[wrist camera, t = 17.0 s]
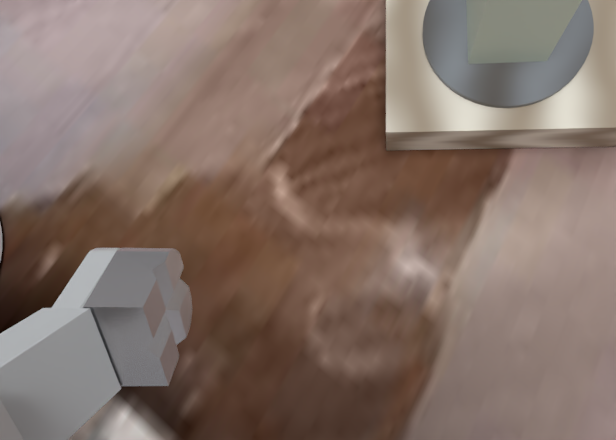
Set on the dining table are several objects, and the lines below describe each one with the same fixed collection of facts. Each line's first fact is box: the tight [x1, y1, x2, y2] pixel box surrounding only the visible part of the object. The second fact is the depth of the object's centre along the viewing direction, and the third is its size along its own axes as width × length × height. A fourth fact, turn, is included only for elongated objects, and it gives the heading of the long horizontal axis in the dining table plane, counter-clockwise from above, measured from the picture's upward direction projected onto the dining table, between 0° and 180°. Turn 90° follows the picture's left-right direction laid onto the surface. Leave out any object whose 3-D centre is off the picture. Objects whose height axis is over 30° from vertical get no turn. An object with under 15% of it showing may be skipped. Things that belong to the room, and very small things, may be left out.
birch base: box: [386, 0, 616, 150], centre depth 41 cm, size 16×14×5 cm
